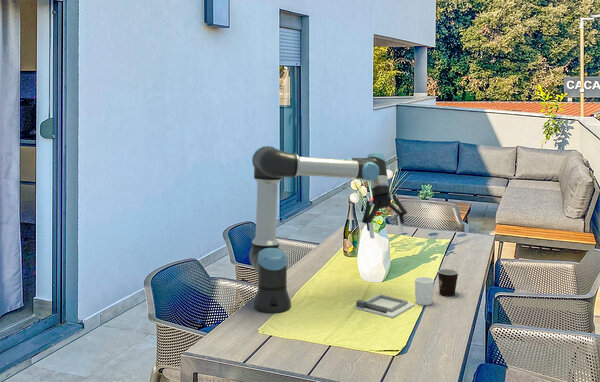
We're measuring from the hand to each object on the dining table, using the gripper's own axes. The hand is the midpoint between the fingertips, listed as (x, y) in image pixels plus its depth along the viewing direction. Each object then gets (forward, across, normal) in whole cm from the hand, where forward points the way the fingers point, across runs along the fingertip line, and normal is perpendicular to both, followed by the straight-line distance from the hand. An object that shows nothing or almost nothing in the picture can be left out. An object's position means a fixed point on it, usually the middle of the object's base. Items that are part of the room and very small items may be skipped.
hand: (386, 235), depth 266 cm
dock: (+30, +4, +1) cm, 30 cm away
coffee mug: (+25, -13, -28) cm, 40 cm away
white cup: (+29, -8, -11) cm, 32 cm away
